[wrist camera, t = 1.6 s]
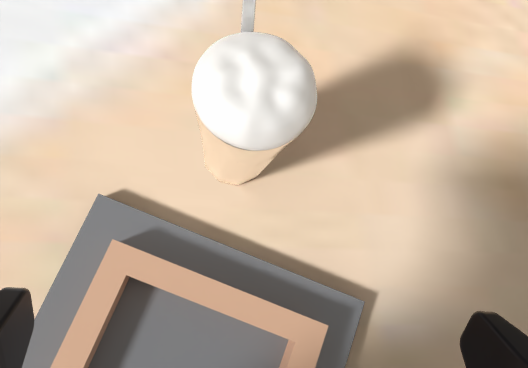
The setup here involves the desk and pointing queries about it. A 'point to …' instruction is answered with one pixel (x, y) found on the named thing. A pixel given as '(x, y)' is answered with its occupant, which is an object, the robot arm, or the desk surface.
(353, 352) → the desk surface
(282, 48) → the milkshake
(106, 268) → the dock
